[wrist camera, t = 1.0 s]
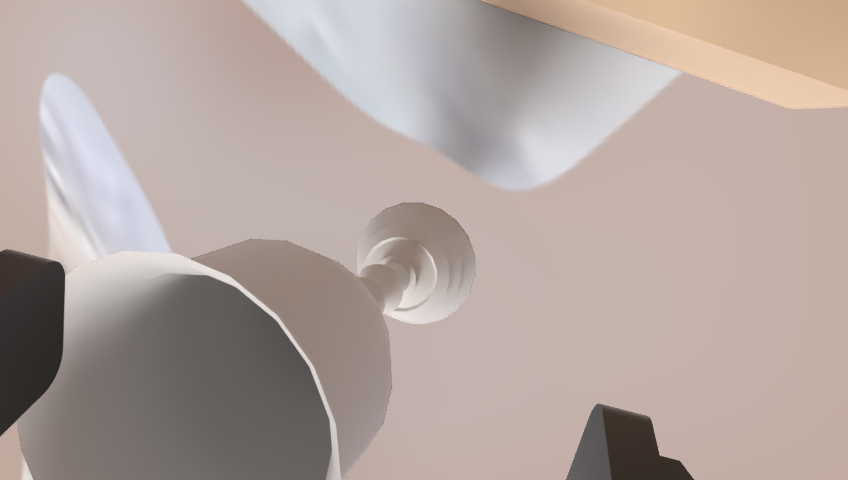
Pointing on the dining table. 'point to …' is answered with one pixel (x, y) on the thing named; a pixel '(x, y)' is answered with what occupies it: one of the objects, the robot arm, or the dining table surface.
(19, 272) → the robot arm
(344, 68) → the dining table surface
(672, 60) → the mailer sleeve
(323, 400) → the chalice
